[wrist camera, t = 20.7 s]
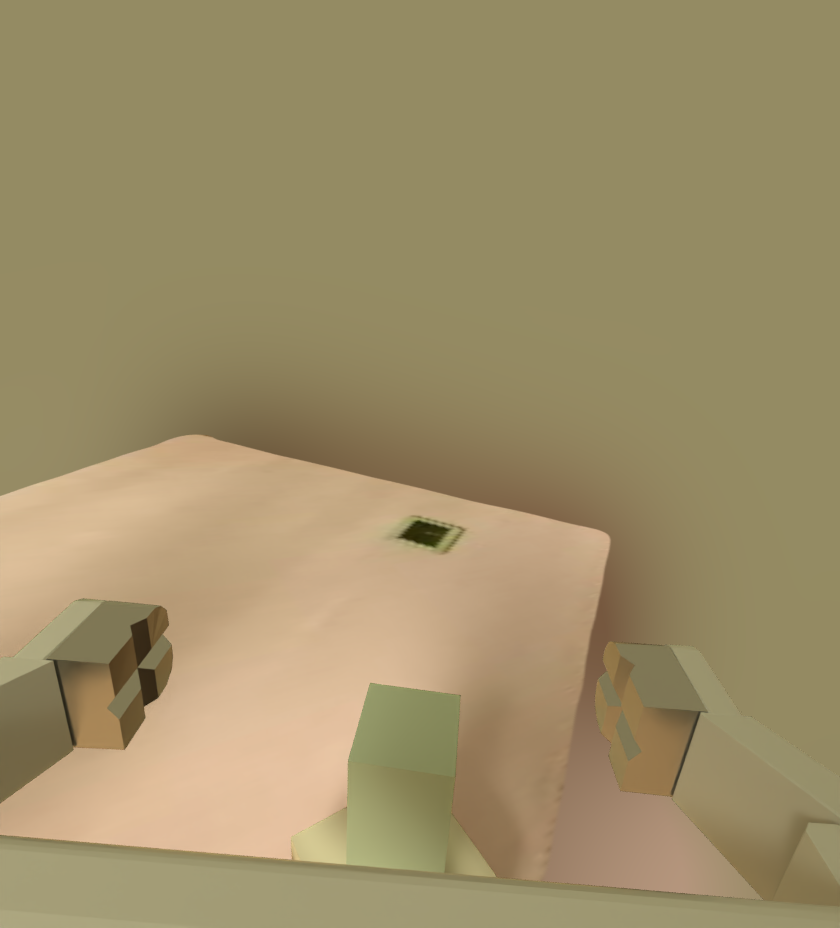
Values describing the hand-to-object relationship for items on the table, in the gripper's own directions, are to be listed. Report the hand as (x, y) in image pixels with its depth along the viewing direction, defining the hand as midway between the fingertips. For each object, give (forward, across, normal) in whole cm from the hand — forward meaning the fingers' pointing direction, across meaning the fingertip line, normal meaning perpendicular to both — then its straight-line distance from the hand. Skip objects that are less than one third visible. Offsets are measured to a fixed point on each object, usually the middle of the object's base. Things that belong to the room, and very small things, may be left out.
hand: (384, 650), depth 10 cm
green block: (+12, -1, +25) cm, 28 cm away
